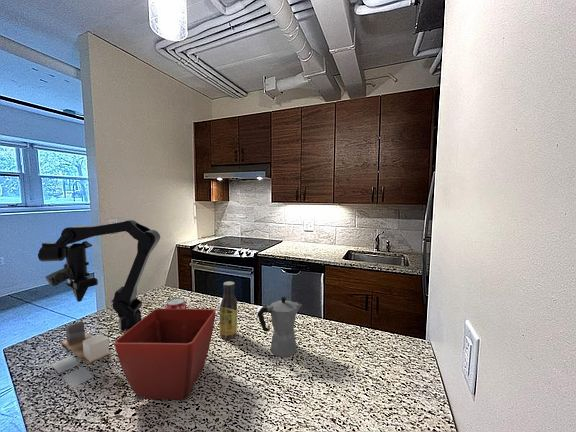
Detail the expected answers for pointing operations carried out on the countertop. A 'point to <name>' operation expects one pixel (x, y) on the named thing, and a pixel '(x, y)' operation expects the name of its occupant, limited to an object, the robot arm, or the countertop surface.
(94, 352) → the cube
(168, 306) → the soda can
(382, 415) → the countertop surface
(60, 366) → the broken strip
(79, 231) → the robot arm
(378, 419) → the countertop surface
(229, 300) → the sauce bottle
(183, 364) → the plant pot
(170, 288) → the countertop surface
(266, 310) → the coffeepot
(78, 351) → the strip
